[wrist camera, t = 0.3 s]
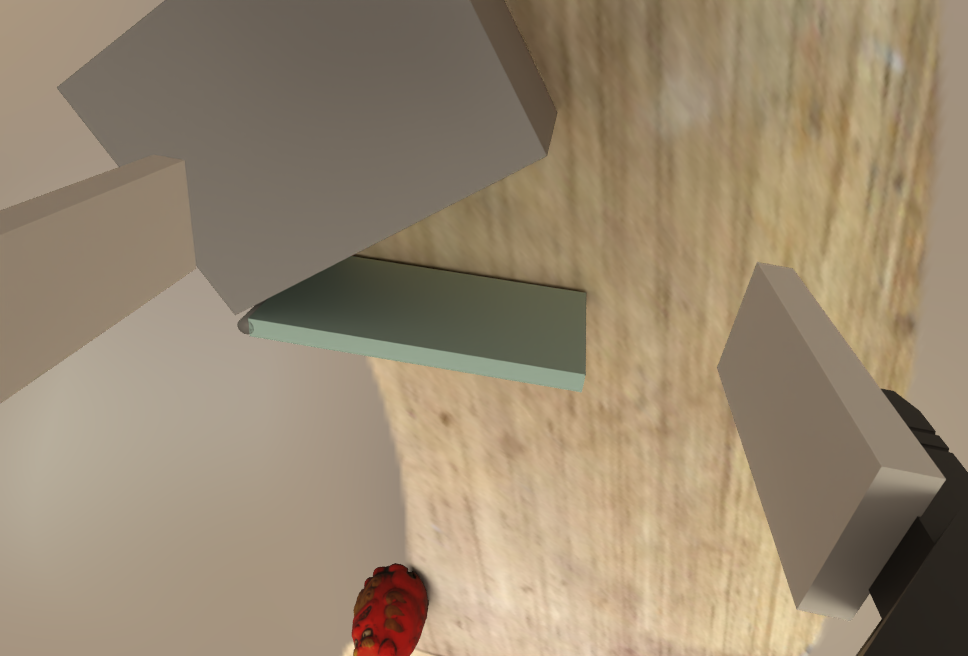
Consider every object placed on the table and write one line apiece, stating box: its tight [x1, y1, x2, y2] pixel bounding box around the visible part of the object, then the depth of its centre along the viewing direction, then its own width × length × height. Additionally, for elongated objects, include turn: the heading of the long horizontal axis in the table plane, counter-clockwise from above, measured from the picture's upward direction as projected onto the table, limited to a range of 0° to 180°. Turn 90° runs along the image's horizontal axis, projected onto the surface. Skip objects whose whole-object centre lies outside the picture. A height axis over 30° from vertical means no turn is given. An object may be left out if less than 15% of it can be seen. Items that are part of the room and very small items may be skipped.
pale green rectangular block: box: [238, 256, 586, 392], centre depth 40 cm, size 3×20×10 cm, turn 84°
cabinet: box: [57, 0, 557, 315], centre depth 34 cm, size 14×20×11 cm
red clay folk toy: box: [352, 563, 429, 656], centre depth 56 cm, size 8×7×15 cm
